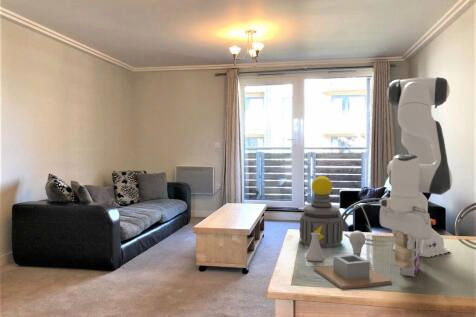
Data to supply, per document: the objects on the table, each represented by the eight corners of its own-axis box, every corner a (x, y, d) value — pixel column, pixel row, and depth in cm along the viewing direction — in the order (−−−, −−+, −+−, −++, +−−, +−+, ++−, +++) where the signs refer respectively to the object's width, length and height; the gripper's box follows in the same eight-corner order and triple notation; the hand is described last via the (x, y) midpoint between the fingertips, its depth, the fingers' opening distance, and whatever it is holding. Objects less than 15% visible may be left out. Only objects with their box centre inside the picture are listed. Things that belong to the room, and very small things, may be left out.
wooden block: (403, 264, 125) (404, 222, 124) (411, 267, 121) (412, 224, 120) (394, 264, 124) (395, 223, 123) (402, 268, 120) (403, 225, 120)
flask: (324, 262, 140) (325, 236, 140) (305, 261, 142) (305, 235, 141) (324, 257, 147) (324, 231, 147) (305, 255, 149) (305, 230, 148)
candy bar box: (404, 265, 138) (405, 221, 137) (419, 268, 135) (420, 223, 134) (399, 274, 128) (400, 227, 128) (415, 277, 126) (417, 229, 125)
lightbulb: (345, 259, 145) (346, 230, 145) (353, 255, 150) (353, 228, 149) (360, 262, 141) (361, 233, 140) (367, 258, 145) (368, 231, 145)
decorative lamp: (296, 246, 162) (298, 177, 161) (302, 235, 180) (303, 173, 179) (341, 250, 157) (343, 179, 156) (342, 239, 175) (344, 175, 174)
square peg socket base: (358, 265, 137) (358, 249, 137) (391, 283, 120) (391, 265, 120) (314, 269, 132) (314, 253, 132) (341, 289, 115) (342, 270, 115)
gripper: (437, 209, 112) (436, 254, 113) (391, 199, 132) (391, 237, 133) (420, 210, 111) (419, 256, 111) (376, 199, 130) (375, 239, 131)
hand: (403, 246), depth 122 cm, fingers closed on wooden block, 3 cm apart
